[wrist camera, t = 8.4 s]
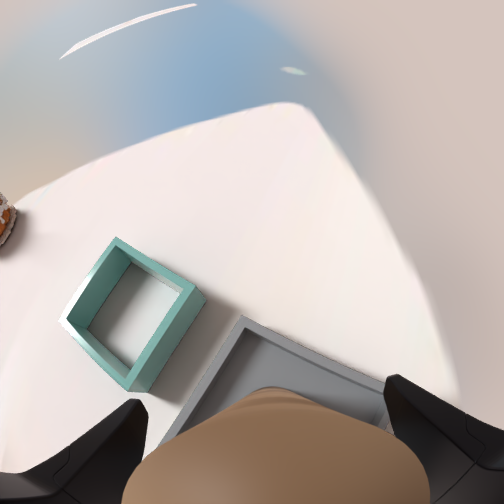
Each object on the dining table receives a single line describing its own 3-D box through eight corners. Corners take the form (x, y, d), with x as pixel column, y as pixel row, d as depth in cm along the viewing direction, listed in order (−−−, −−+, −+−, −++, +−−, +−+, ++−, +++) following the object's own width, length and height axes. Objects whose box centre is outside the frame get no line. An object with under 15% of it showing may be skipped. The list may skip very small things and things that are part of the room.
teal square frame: (147, 392, 17) (127, 391, 14) (79, 330, 20) (58, 320, 17) (206, 300, 20) (195, 285, 18) (131, 253, 23) (115, 236, 20)
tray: (291, 540, 10) (292, 553, 8) (150, 469, 14) (138, 474, 12) (391, 391, 15) (403, 390, 14) (245, 322, 19) (241, 314, 17)
